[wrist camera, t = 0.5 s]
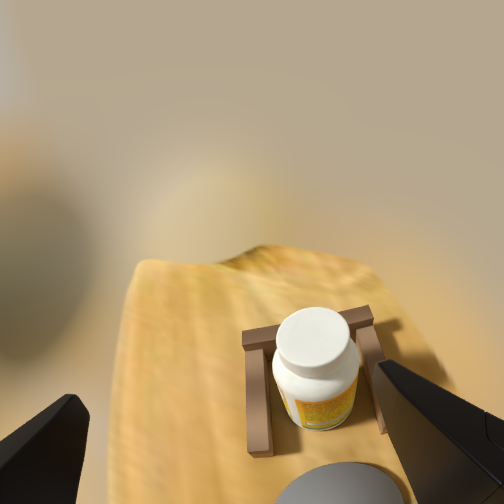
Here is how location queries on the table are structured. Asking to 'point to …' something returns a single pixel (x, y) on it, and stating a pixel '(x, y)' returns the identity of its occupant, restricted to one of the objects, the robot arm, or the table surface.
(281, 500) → the rubber pad
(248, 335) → the housing rails
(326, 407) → the supplement bottle
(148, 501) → the table surface
